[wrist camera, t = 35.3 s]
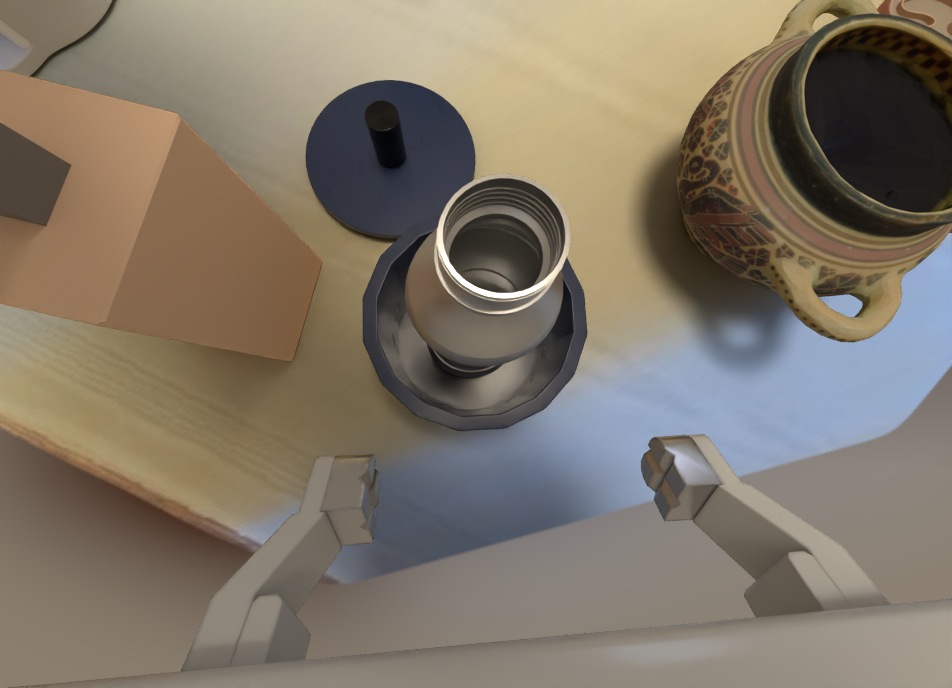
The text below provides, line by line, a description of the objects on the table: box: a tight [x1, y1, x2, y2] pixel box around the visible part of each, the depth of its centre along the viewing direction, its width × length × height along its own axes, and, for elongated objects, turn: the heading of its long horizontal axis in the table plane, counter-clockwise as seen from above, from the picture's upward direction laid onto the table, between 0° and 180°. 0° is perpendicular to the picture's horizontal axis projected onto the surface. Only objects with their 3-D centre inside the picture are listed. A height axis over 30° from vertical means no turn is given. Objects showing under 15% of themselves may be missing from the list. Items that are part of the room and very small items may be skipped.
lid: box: [306, 80, 475, 238], centre depth 29 cm, size 14×14×6 cm
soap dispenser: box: [0, 69, 322, 361], centre depth 19 cm, size 13×9×22 cm
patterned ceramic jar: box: [677, 0, 952, 342], centre depth 27 cm, size 24×18×15 cm
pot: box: [363, 214, 587, 431], centre depth 26 cm, size 13×13×10 cm
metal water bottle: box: [405, 174, 570, 378], centre depth 20 cm, size 6×7×20 cm
